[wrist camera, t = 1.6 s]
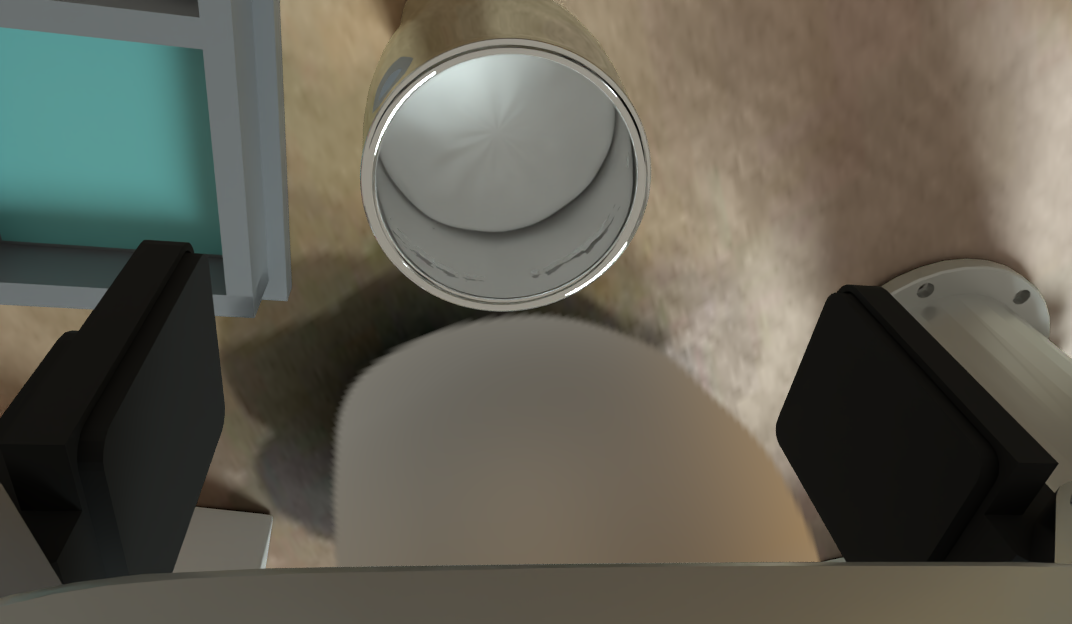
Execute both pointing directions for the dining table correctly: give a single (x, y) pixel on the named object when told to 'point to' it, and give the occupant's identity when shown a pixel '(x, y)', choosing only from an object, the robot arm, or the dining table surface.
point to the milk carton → (224, 541)
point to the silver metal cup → (501, 153)
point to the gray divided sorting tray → (141, 146)
